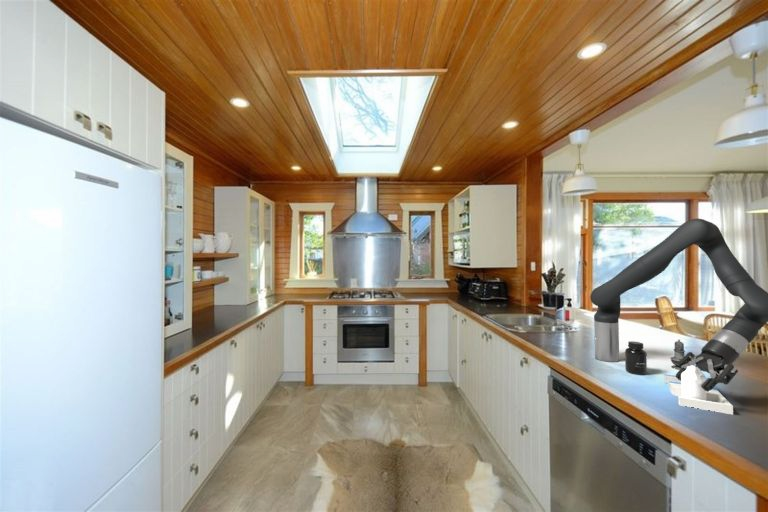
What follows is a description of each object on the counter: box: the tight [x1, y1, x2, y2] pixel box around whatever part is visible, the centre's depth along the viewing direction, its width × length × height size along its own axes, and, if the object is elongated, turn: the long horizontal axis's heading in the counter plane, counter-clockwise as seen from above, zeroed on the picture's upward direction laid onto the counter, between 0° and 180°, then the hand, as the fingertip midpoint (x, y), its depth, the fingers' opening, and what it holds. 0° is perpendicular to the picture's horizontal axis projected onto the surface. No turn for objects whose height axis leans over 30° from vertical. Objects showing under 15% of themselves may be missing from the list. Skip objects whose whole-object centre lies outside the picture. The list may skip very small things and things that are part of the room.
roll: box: [681, 365, 707, 400], centre depth 103 cm, size 6×12×6 cm
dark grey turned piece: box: [669, 339, 686, 371], centre depth 135 cm, size 6×6×12 cm
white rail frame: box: [663, 374, 734, 415], centre depth 108 cm, size 12×23×4 cm, turn 148°
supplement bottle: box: [624, 341, 648, 376], centre depth 131 cm, size 7×7×12 cm
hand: (690, 383), depth 103 cm, fingers open, 8 cm apart
